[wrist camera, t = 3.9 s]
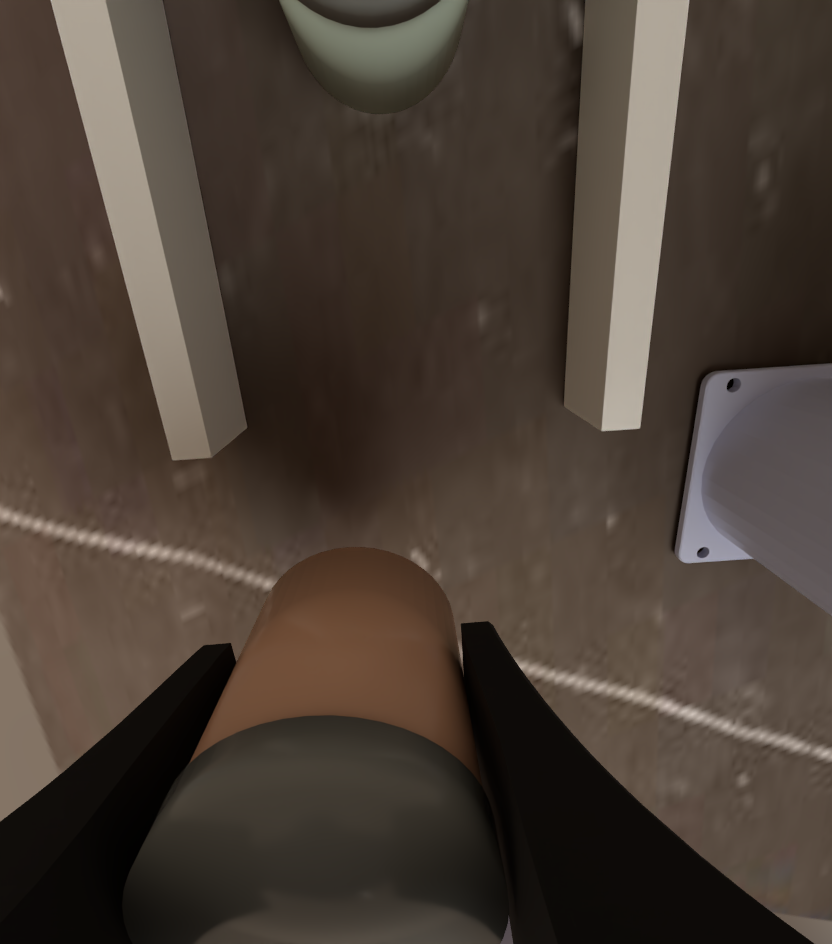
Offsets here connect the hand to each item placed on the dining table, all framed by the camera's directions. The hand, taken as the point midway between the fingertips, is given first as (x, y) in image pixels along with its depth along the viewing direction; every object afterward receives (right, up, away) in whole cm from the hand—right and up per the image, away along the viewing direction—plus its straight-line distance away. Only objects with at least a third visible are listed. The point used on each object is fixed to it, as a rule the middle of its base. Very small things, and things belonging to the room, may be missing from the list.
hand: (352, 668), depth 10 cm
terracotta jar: (0, 0, +2) cm, 2 cm away
